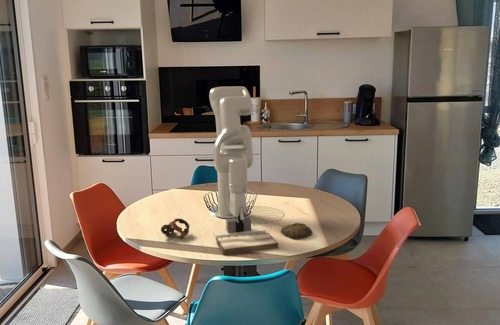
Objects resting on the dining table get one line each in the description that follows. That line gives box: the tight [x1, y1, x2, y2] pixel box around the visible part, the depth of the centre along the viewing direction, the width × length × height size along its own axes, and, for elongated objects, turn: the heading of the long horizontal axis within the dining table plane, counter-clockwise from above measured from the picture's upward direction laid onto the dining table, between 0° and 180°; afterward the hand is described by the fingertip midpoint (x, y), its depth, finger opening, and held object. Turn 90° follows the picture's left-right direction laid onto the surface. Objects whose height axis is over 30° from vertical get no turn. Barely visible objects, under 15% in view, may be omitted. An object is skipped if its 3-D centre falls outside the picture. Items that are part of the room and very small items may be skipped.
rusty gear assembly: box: [160, 218, 190, 240], centre depth 197 cm, size 12×10×8 cm
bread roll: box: [280, 222, 313, 240], centre depth 200 cm, size 13×12×5 cm
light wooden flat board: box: [215, 232, 279, 256], centre depth 188 cm, size 12×22×2 cm, turn 106°
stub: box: [212, 216, 266, 240], centre depth 199 cm, size 6×21×7 cm, turn 106°
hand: (238, 229), depth 199 cm, fingers closed on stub, 3 cm apart
